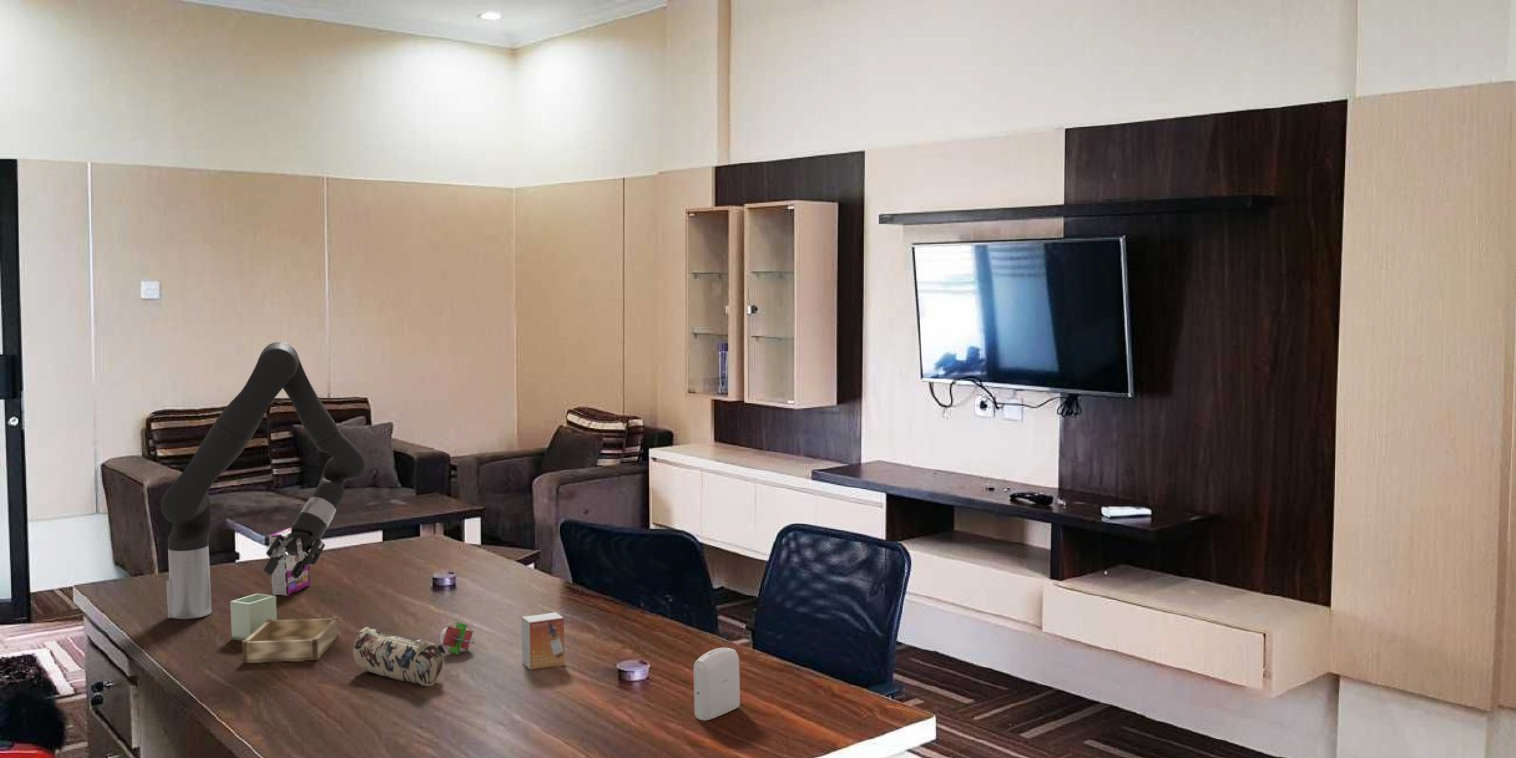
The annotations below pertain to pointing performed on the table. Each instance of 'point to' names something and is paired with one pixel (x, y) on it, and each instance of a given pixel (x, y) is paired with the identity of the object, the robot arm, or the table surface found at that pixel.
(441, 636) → the geometric puzzle
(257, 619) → the box
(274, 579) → the candy bar box
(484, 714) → the table surface
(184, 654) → the table surface
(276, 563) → the robot arm
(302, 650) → the wooden tray
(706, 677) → the photo printer
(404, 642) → the pencil case
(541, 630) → the small box
